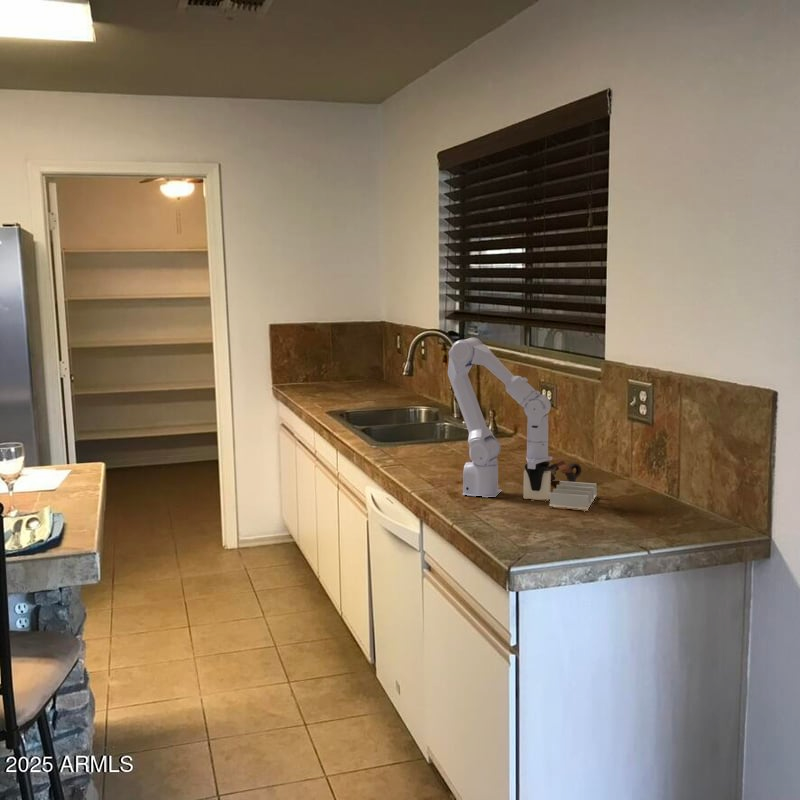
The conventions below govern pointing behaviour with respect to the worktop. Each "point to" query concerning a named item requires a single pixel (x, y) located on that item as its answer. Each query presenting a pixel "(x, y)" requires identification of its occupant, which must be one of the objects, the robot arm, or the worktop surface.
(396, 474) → the worktop surface
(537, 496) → the beige rectangular block
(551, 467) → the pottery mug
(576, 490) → the dish rack
